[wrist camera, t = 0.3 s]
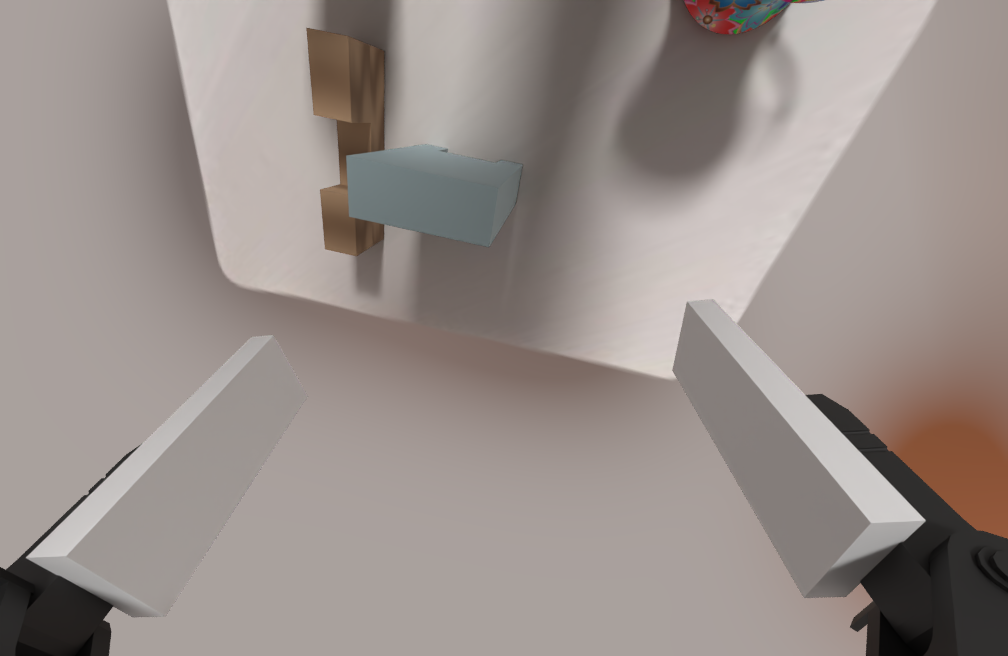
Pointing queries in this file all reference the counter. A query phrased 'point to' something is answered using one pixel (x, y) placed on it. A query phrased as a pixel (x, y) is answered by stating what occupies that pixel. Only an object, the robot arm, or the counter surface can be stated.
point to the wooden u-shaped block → (347, 126)
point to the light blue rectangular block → (433, 192)
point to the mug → (736, 13)
